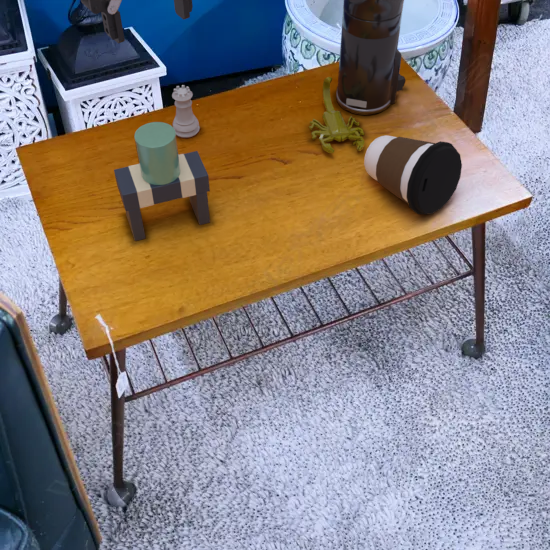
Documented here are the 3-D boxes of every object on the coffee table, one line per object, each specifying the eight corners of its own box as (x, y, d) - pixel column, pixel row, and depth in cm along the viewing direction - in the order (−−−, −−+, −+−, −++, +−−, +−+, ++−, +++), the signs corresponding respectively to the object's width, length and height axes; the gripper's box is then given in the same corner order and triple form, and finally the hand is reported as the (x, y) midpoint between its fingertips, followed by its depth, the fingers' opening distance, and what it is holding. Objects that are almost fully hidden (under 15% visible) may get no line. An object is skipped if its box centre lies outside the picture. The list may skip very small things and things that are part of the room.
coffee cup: (347, 194, 113) (408, 223, 106) (359, 123, 108) (425, 149, 101) (393, 183, 120) (454, 210, 113) (407, 117, 115) (471, 140, 108)
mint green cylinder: (174, 155, 106) (169, 118, 101) (185, 180, 102) (180, 142, 97) (137, 164, 104) (130, 126, 99) (146, 189, 101) (139, 151, 96)
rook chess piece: (168, 127, 124) (163, 86, 118) (193, 119, 126) (189, 78, 120) (179, 142, 122) (174, 101, 116) (204, 134, 123) (200, 93, 117)
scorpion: (318, 158, 118) (322, 127, 114) (298, 104, 128) (301, 73, 124) (372, 154, 120) (377, 123, 115) (348, 100, 130) (352, 70, 125)
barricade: (202, 197, 113) (197, 150, 106) (212, 222, 110) (208, 175, 103) (123, 216, 110) (113, 169, 104) (132, 242, 107) (122, 195, 100)
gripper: (81, -91, 69) (111, 63, 81) (211, -128, 74) (221, 21, 86) (46, -118, 73) (79, 33, 85) (172, -151, 78) (186, -5, 90)
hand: (151, 27), depth 86 cm, fingers open, 8 cm apart
